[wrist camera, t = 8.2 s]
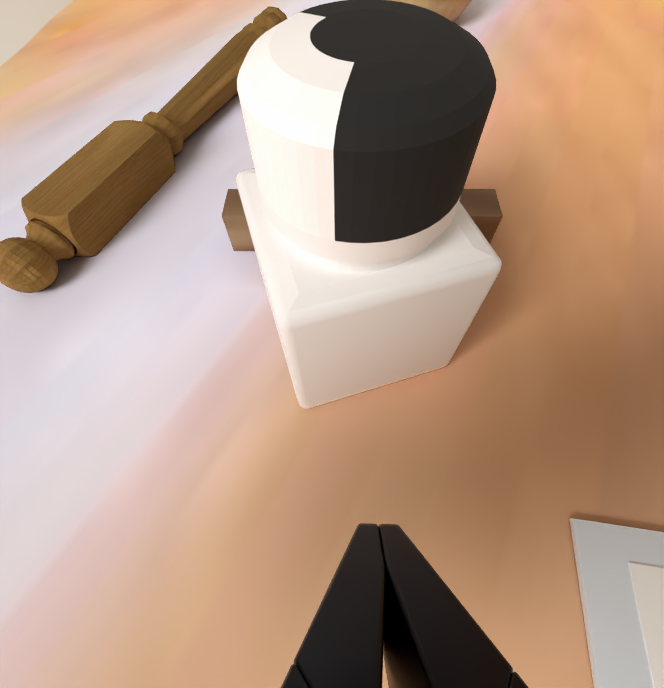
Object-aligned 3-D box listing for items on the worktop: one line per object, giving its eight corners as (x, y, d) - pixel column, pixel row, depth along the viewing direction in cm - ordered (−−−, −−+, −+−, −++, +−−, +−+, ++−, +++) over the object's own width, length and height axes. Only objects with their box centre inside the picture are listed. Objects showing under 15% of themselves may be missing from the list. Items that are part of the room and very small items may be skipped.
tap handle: (291, 6, 31) (4, 272, 17) (295, 50, 33) (49, 311, 20) (258, 0, 31) (-45, 253, 18) (264, 44, 34) (5, 293, 20)
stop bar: (486, 253, 21) (503, 218, 19) (233, 252, 21) (221, 217, 19) (479, 226, 22) (494, 189, 20) (239, 225, 22) (228, 189, 20)
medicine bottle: (392, 256, 21) (443, -44, 10) (450, 367, 18) (612, 87, 7) (265, 289, 20) (184, -5, 10) (301, 413, 17) (235, 166, 6)
